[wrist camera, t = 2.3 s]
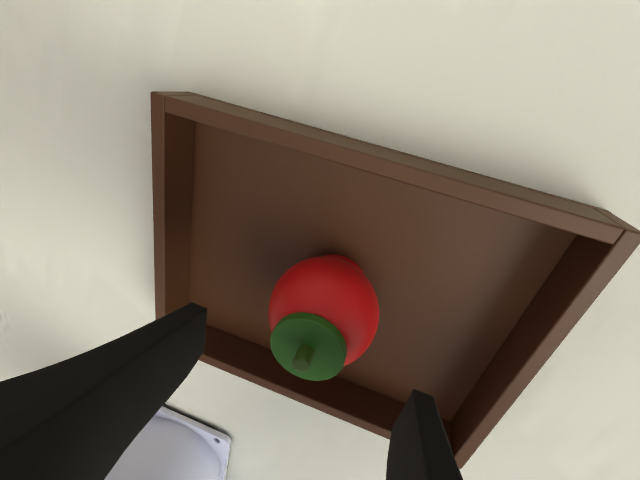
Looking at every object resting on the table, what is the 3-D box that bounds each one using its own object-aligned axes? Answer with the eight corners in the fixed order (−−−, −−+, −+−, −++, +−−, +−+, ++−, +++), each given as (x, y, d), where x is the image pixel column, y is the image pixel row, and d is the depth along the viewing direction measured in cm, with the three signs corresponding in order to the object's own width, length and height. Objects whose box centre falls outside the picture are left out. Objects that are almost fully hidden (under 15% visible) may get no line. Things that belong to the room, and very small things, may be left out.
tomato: (284, 301, 17) (231, 384, 12) (301, 225, 15) (245, 288, 10) (368, 332, 16) (347, 433, 12) (398, 257, 14) (388, 341, 9)
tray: (181, 317, 20) (155, 342, 18) (188, 91, 14) (149, 91, 12) (456, 426, 18) (461, 470, 16) (607, 210, 12) (647, 234, 10)
